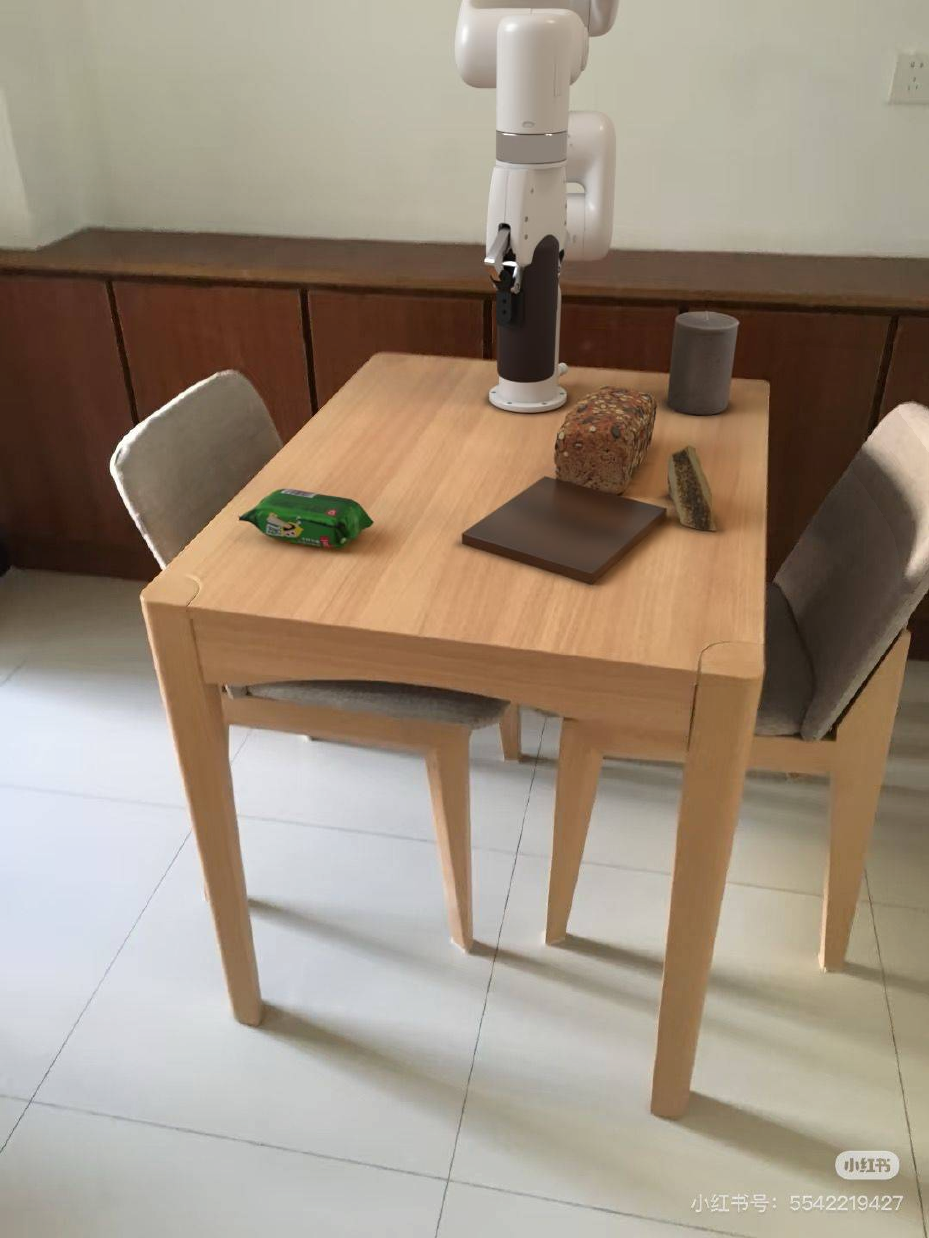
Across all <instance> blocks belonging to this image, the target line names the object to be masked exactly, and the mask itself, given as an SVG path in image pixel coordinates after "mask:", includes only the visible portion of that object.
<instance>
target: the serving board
mask: <svg viewBox="0 0 929 1238" xmlns="http://www.w3.org/2000/svg"><path fill="white" fill-rule="evenodd" d="M667 511H668V508H667V507H663V506H659V505H656V504H652V503H648V502H644V501H641V500H637V499H633V498H630V497H626V496H622V495H619V494H616V495H615V494H611V493H607V492H603V491H599V490H596V489H592V488H588V487H584V486H581V485H577V484H573V483H569V482H565V481H562V480H558V479H556V478H554V477H550V476H546V475H545V476H543V477H541V478H540V479H538V480H537V481H536V482H534V483H533V484H531V485H529V486H528V487H527V488H525V489H524V490H523V491H521V492H519V493H518V494H517V495H515V496H513V498H511V499H509V500H508V501H506V502H505V503H504V504H502V505H501V506H499V507H497V508H496V509H495V510H493V511H491V513H489V514H487V515H486V516H485V517H483V518H482V519H480V520H479V521H478V522H476V523H475V524H473V525H472V526H470V527H469V528H467V529H466V530H464V531H463V532H462V533H461V544H462V545H465V546H468V547H471V548H474V549H476V550H477V549H478V550H481V551H483V552H487V553H490V554H494V555H496V556H500V557H503V558H507V559H510V560H513V561H515V562H519V563H522V564H525V565H527V566H528V565H529V566H531V567H535V568H537V569H540V570H544V571H548V572H551V573H554V574H557V575H561V576H562V577H563V576H564V577H567V578H569V579H573V580H576V581H578V582H582V583H584V584H589V585H593V584H595V582H597V581H598V580H599V579H600V578H601V577H602V576H604V575H605V574H606V573H607V572H608V571H609V570H610V569H611V568H613V566H614V565H616V564H617V563H618V562H619V561H621V560H622V559H623V558H624V557H625V556H626V555H627V554H628V553H630V552H631V551H632V550H633V549H634V548H635V547H636V546H638V544H640V543H641V542H642V541H643V540H644V539H645V538H646V537H647V536H648V535H649V534H651V533H652V532H653V530H655V529H656V528H658V526H659V525H661V524H662V523H663V522H664V521H665V520H667V515H668V512H667Z"/></svg>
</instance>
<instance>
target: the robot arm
mask: <svg viewBox="0 0 929 1238" xmlns="http://www.w3.org/2000/svg"><path fill="white" fill-rule="evenodd" d="M619 5H620V0H462V1H461V3H460V7H459V10H458V17H457V23H456V26H455V27H456V28H455V35H454V59H455V66H456V69H457V73H458V74H459V77H460V78H461V80H462V81H463V82H464V83H465V84H466V85H467V86H469V87H472V88H474V89H475V88H476V89H496V92H495V93H496V97H495V98H496V100H495V101H496V105H495V106H496V108H495V110H496V111H495V116H496V117H495V123H496V124H495V129H496V130H495V166H493V170H492V174H491V178H490V179H491V181H490V188H489V195H488V201H487V202H488V203H487V215H486V216H487V218H486V232H485V233H486V235H485V236H486V238H485V253H486V254H485V255H486V256H485V259H484V261H483V263H484V267H485V269H486V270H487V272H488V275H489V278H490V280H491V282H492V283H493V290H494V291H496V295H495V296H496V299H495V300H496V301H495V305H496V306H495V311H496V312H495V318H496V319H495V324H496V326H497V325H499V326H504V327H509V328H514V329H519V328H521V327H522V326H523V292H519V290H520V287H521V283H522V279H523V275H524V269H525V266H527V265H529V264H531V262H532V257H533V253H534V250H535V248H536V246H537V245H538V243H539V242H540V241H541V240H542V239H543V238H544V237H545V236H547V235H550V234H551V235H553V236H555V237H556V239H557V240H558V241H559V268H558V281H559V278H560V276H561V274H562V266H561V264H562V262H596V261H600V260H603V258H605V257H606V256H607V254H608V253H609V251H610V248H611V244H612V239H613V227H614V206H615V188H616V186H615V185H616V166H617V165H616V164H617V136H616V130H615V125H614V123H613V121H612V119H611V118H610V116H609V115H608V114H606V113H605V112H602V111H597V110H570V94H571V93H570V91H571V86H572V85H574V84H575V83H576V82H577V81H578V80H579V78H580V76H581V75H582V72H584V71H585V70H586V67H587V65H588V60H589V52H590V38H595V37H601V36H604V35H606V34H608V33H609V32H610V31H611V30H612V28H613V26H614V24H615V23H616V19H617V16H618V12H619ZM567 183H568V184H570V183H571V184H579V185H580V186H581V187H582V188H583V191H584V192H568V187H567ZM511 248H512V250H513V253H514V254H516V260H515V262H514V261H508V260H505V254H506V253H508V251H509V249H511ZM506 268H513V269H515V271H514V275H513V279H512V277H511V276H510V274H509V272H508V271H507V270H506ZM561 312H562V290H561V286H560V282H558V293H557V318H556V343H555V368H554V374H553V376H551V377H550V378H549V379H547V380H544V381H540V382H534V383H518V382H512V381H508V380H505V379H503V378H502V377H500V376H499V375H498V384H497V385H495V386H493V387H492V388H491V389H490V390H489V391H488V392H489V393H488V399H489V402H490V403H491V404H492V405H493V406H494V407H496V408H499V409H501V410H504V411H509V412H514V413H523V414H524V413H526V414H529V413H530V414H532V413H544V412H548V411H549V412H550V411H552V410H556V409H559V408H560V407H562V406H563V405H564V404H565V403H566V402H567V396H568V395H567V391H566V390H565V389H564V388H563V387H562V386H560V385H559V380H560V378H561V377H562V376H564V375H566V374H567V373H568V372H569V367H568V365H567V364H566V363H564V362H560V363H559V360H560V336H561V335H560V333H561V314H562V313H561Z"/></svg>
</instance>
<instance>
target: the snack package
mask: <svg viewBox="0 0 929 1238" xmlns="http://www.w3.org/2000/svg"><path fill="white" fill-rule="evenodd" d="M237 517H238V521H239V522H247V523H250V524H252V525H253V526H254V527H255V528H257V530H258V531H260V533H262V534H264V535H266V536H267V537H269V538H272V539H275V540H279V541H283V542H286V543H292V544H298V545H302V546H303V545H304V546H309V547H316V548H321V549H322V548H323V549H328V550H338V549H343V548H344V547H346V546H347V545H348V544H349V543H351V542H352V541H355V540H356V539H357V537H358V535H359V534H361V533H362V531H364V530H365V529H367V528H371V527H372V525H374V523H375V522H374V520H373V519H372V518H371V517H370V516H369V514H368V513H367V511H366V510H365V509H364V508H363V507H362V505H361V504H360V503H359V502H358V501H356V500H354V499H351V498H347V497H343V496H337V495H336V496H334V495H328V494H323V493H322V494H321V493H317V492H313V491H306V490H300V489H294V488H280V489H277V490H274V491H272V492H271V493H270V494H269V495H267V496H265V497H264V498H262V499H261V500H260V501H259V503H258V504H257V505H256V506H254V507H253V508H252V509H250V510H248V511H246V512H244V513H243V514H242V515H237Z"/></svg>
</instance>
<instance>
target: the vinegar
mask: <svg viewBox="0 0 929 1238" xmlns="http://www.w3.org/2000/svg"><path fill="white" fill-rule="evenodd" d="M505 260H508V261H514V262H515V260H516V254H514V253H513V250H512V248H511V249H509V251H508V253H506V254H505ZM558 268H559V241H558V240H557V239H556V237H555V236H553V235H551V234H550V235H547V236H545V237H544V238H543V239H542V240H541V241H540V242H539V243H538V245H537V246H536V248H535V250H534V253H533V257H532V262H531V264H529V265H527V266H525V269H524V275H523V279H522V283H521V287H520V290H519V292H523V326H522V327H521V328H519V329H514V328H509V327H504V326H499V325H497V324H496V328H497V329H496V330H497V331H496V333H497V334H496V335H497V336H496V337H497V338H496V373H497V374H498V377H499V376H500V377H502V378H503V379H505V380H508V381H512V382H518V383H534V382H540V381H544V380H547V379H549V378H550V377H551V376H553V374H554V368H555V343H556V318H557V293H558V283H559V280H558V277H559V276H558ZM506 270H507V271H508V272H509V274H510V276H511V277H512V279H513V275H514V271H515V269H513V268H506Z"/></svg>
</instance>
